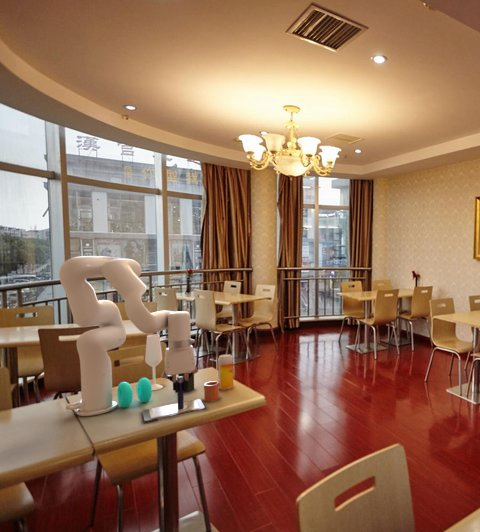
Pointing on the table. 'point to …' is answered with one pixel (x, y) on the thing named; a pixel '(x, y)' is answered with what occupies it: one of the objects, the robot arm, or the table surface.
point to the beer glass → (225, 371)
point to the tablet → (171, 410)
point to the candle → (189, 383)
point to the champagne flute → (153, 356)
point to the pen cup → (211, 391)
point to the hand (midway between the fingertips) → (180, 390)
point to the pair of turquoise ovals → (126, 394)
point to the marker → (180, 392)
